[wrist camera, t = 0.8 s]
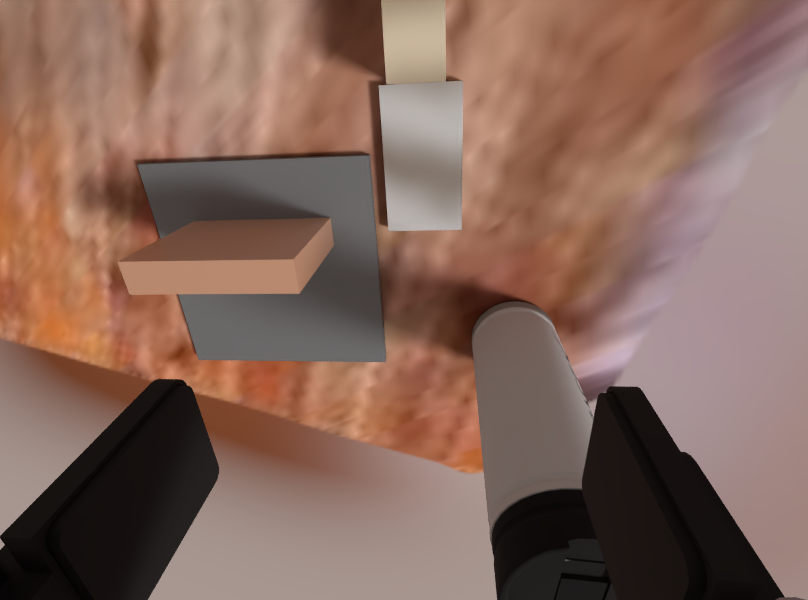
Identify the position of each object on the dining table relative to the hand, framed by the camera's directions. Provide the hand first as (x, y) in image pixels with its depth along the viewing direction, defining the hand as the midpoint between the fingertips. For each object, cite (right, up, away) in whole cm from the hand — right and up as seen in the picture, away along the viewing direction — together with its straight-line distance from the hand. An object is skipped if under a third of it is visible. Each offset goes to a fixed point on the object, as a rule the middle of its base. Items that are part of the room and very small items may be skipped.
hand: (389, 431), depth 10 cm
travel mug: (+9, 0, +23) cm, 25 cm away
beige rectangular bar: (+1, +17, +16) cm, 23 cm away
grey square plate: (-9, +5, +22) cm, 25 cm away
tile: (-10, +8, +21) cm, 24 cm away
